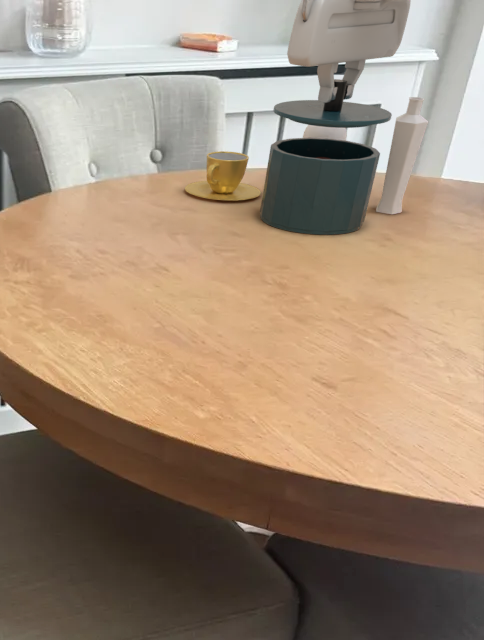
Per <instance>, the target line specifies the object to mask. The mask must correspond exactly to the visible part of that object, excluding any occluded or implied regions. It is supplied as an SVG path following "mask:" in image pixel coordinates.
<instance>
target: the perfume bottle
mask: <svg viewBox="0 0 484 640" xmlns="http://www.w3.org/2000/svg"><path fill="white" fill-rule="evenodd" d="M408 100H409V101H408V105H407V109H406V112H405V113H403V114H400V115H399V116H396V118H395V123H394V128H393V133H392V134H393V135H392V139H391V144H390V150H389V154H388V159H387V166H386V170H385V176H384V181H383V185H382V192H381V197H380V199H379V201H378V204H377V206H376V208H375V212H376V213H380V214H387V215H397V214H400V213H402V212H403V199H404V196H405V193H406V190H407V188H408V184H409V181H410V178H411V175H412V173H413V169H414V166H415V163H416V160H417V158H418V155H419V151H420V148H421V145H422V142H423V140H424V136H425V133H426V130H427V128H428V125H429V120H427V119H426V118H425V117H424V116H423V115H421V111H422V107H423V104H424V101H425V98H424V97H419V96H409V97H408Z"/></svg>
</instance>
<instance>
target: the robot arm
mask: <svg viewBox="0 0 484 640" xmlns="http://www.w3.org/2000/svg"><path fill="white" fill-rule="evenodd" d="M411 2H412V1H411V0H301V1H300V2H299V4H298V6H297V11H296V13H295V18H294V21H293V24H292V29H291V32H290V36H289V41H288V47H287V52H286V55H287V59H288V62H289V65H293V66H297V67H298V66H299V67H307V68H309V67H317V70H316V73H317V78H318V85H319V90H318V95H317V100H319V101H320V102H325V103H327V102H332V101H334V100H335V98H336V93H337V88H338V87H335V86H334V79H335V74H336V73H337V72H338V67H339V64H343V63H344V64H345V65H344V68H345V72H344V75H343V77H342V79H341V80H346V81H347V86H346V90H345V95H344V100H343V101H345V100H351V99H352V98H353V94H354V91H355V85H357V82H358V81H359V79H360V77H361V75H362V73H363V71H364V70H365V65H366V60H374V59H375V60H376V59H383V58H391V57H393V56H395V54H396V53H397V51H398V49H399V48H400V47H401V43H402V40H403V36H404V33H405V30H406V25H407V22H408V19H409V13H410V9H411Z"/></svg>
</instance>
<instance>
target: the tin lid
mask: <svg viewBox="0 0 484 640" xmlns="http://www.w3.org/2000/svg"><path fill="white" fill-rule="evenodd" d="M334 86H335V87H338V88H337V93H336V98H335V100H334V101H332V102H327V103H325V102H320V101H319V100H318V99H300V100H288V101H283V102H279V103H276V104H274V106H273V113H274V114H275V115H277V116H279V117H281V118H285V119H288V120H290V121H292V122H296V123H298V124H302V125H307V126H308V125H313V126H322V127H335V128H346V129H349V128H350V129H352V128H353V129H354V128H355V129H356V128H364V127H365V128H366V127H369V126H373V125H381V124H385V123H388V122H390V121H391V119H392V116H393V114H392V112H390V111H389V110H387V109H385V108H382V107H378V106H374V105H370V104H364V103H357V102H352V101H345V100H344V95H345V90H346V86H347V81H346V80H342V79H337V78H334Z"/></svg>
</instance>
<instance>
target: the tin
mask: <svg viewBox="0 0 484 640" xmlns="http://www.w3.org/2000/svg"><path fill="white" fill-rule="evenodd" d="M316 157H327V158H330V159H319V158H316ZM380 157H381V152H379V150H378V149H377V148H375V147H373V146H370V145H367V144H366V143H365V144H364V143H361V142H355V141H351V140H350V141H349V140H346V141H345V140H336V139H327V138H303V137H294V138H292V137H291V138H285V139H280V140H276V141H275V142H273V143H272V144H271V145H270V148H269V155H268V161H267V166H266V173H265V179H264V185H263V191H262V196H261V202H260V209H259V213H260V214H259V218H260V220H261V221H262V222H263V223H265V224H266V225H268V226H271V227H273V228H276V229H279V230H282V231H286V232H292V233H298V234H304V235H305V234H306V235H315V236H335V235H336V236H337V235H343V234H344V235H345V234H350V233H353V232H356V231H358V230H360V229H361V228H362V226H363V223H364V222H365V219H366V215H367V211H368V207H369V202H370V198H371V194H372V189H373V186H374V181H375V178H376V173H377V168H378V165H379V161H380Z"/></svg>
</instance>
